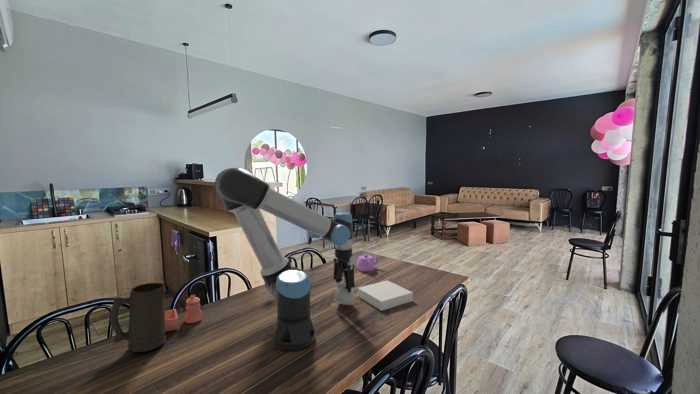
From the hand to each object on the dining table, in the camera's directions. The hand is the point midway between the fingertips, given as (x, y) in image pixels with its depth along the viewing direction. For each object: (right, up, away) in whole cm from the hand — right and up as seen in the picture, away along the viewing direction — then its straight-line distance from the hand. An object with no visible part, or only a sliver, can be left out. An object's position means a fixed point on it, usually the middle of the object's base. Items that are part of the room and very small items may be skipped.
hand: (343, 298), depth 131 cm
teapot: (+14, +1, +46) cm, 48 cm away
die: (0, -3, -1) cm, 3 cm away
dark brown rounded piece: (-29, -2, +17) cm, 34 cm away
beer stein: (-67, -5, -31) cm, 74 cm away
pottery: (-64, -4, -17) cm, 66 cm away
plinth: (+19, -2, +6) cm, 20 cm away
